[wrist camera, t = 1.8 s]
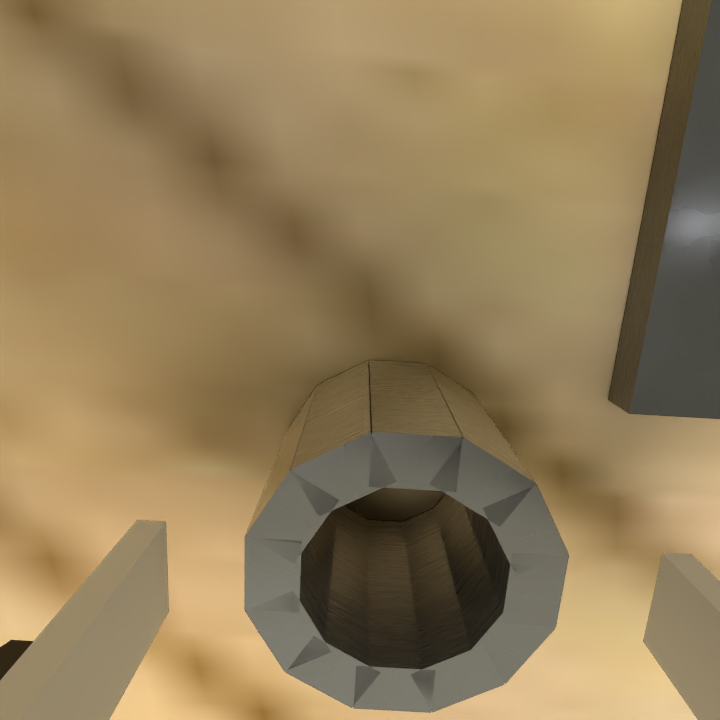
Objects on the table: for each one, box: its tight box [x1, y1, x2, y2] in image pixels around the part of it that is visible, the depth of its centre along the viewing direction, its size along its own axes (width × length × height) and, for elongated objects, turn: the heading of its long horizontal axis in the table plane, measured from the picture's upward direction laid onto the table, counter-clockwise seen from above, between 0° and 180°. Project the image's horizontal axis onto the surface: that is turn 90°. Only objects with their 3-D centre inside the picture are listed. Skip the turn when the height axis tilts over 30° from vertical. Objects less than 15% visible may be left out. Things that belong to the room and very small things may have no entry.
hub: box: [245, 360, 569, 713], centre depth 16 cm, size 8×8×7 cm
